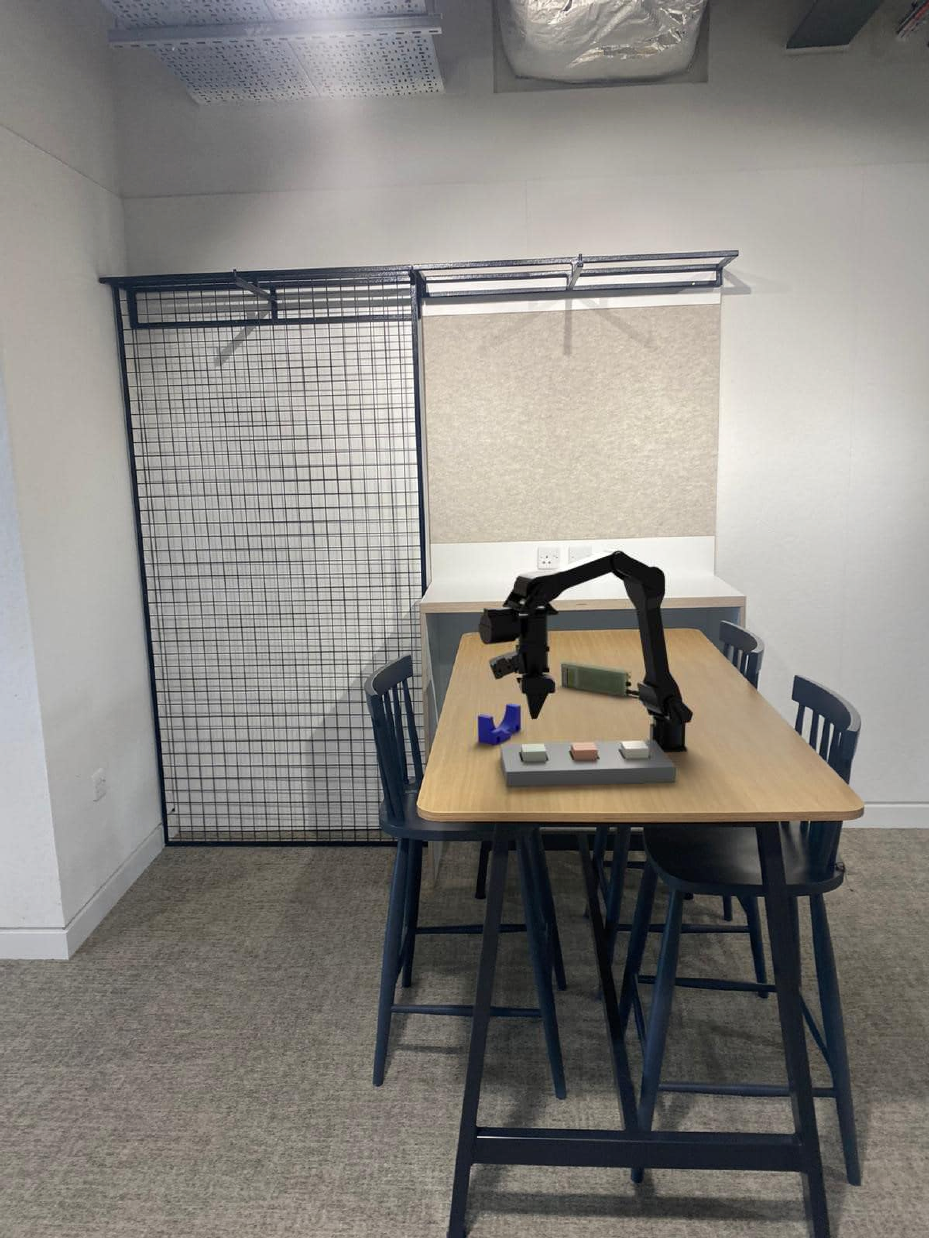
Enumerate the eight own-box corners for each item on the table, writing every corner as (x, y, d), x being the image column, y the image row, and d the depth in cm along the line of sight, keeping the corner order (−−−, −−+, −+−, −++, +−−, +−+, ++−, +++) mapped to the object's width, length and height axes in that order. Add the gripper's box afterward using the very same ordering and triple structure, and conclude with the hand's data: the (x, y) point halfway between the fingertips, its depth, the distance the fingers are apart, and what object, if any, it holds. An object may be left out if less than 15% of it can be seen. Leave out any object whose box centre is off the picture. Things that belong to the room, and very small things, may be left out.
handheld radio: (566, 683, 236) (649, 697, 221) (560, 687, 234) (644, 701, 218) (566, 660, 235) (649, 672, 220) (559, 663, 232) (643, 676, 217)
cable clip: (494, 746, 186) (494, 719, 185) (478, 742, 189) (477, 715, 188) (526, 731, 196) (526, 706, 194) (510, 728, 198) (509, 703, 197)
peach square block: (593, 751, 173) (593, 742, 172) (597, 759, 168) (597, 749, 168) (571, 752, 172) (571, 742, 172) (574, 760, 168) (574, 750, 168)
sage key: (543, 753, 172) (543, 743, 172) (546, 760, 168) (546, 751, 167) (521, 753, 172) (521, 744, 172) (523, 761, 168) (523, 751, 167)
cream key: (643, 750, 173) (643, 740, 172) (648, 758, 168) (648, 748, 168) (620, 751, 173) (620, 741, 172) (625, 758, 168) (625, 748, 168)
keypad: (654, 753, 179) (654, 739, 178) (675, 781, 163) (675, 766, 163) (500, 757, 178) (500, 744, 178) (506, 786, 162) (506, 771, 162)
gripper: (488, 630, 175) (489, 705, 177) (494, 650, 156) (495, 733, 159) (543, 629, 175) (543, 703, 178) (555, 649, 157) (555, 731, 159)
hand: (533, 717), depth 168 cm, fingers closed
